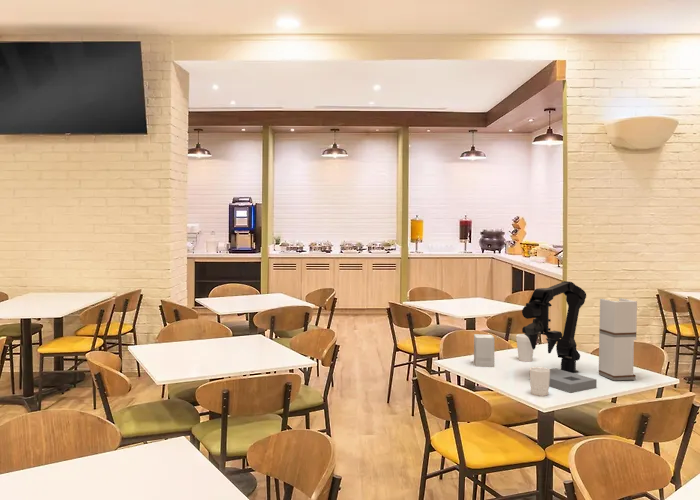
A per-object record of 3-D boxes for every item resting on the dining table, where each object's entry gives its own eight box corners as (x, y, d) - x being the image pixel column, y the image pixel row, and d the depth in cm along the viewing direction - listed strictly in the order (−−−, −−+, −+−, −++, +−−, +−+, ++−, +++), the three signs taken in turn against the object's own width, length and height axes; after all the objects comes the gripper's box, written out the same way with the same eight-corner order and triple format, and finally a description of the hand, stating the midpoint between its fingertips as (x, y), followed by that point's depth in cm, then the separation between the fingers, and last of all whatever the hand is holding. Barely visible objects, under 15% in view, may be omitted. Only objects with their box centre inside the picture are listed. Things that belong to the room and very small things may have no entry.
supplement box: (492, 364, 285) (492, 334, 284) (494, 368, 276) (495, 337, 275) (473, 363, 286) (473, 333, 285) (475, 368, 277) (475, 337, 276)
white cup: (526, 391, 237) (526, 367, 237) (544, 390, 238) (545, 366, 238) (534, 396, 229) (534, 372, 229) (553, 396, 230) (553, 371, 230)
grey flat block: (555, 375, 262) (555, 368, 262) (596, 387, 243) (596, 379, 242) (529, 380, 254) (529, 372, 254) (570, 392, 235) (570, 384, 235)
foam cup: (537, 360, 293) (537, 335, 292) (532, 364, 285) (532, 338, 284) (518, 358, 298) (519, 333, 297) (513, 361, 290) (513, 336, 289)
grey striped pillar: (635, 379, 256) (637, 301, 255) (613, 380, 254) (615, 301, 253) (619, 373, 267) (620, 298, 266) (598, 374, 266) (599, 298, 264)
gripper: (513, 315, 262) (513, 349, 263) (545, 321, 246) (544, 357, 247) (531, 313, 268) (530, 346, 268) (563, 319, 251) (562, 354, 252)
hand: (541, 351), depth 259 cm, fingers open, 9 cm apart
